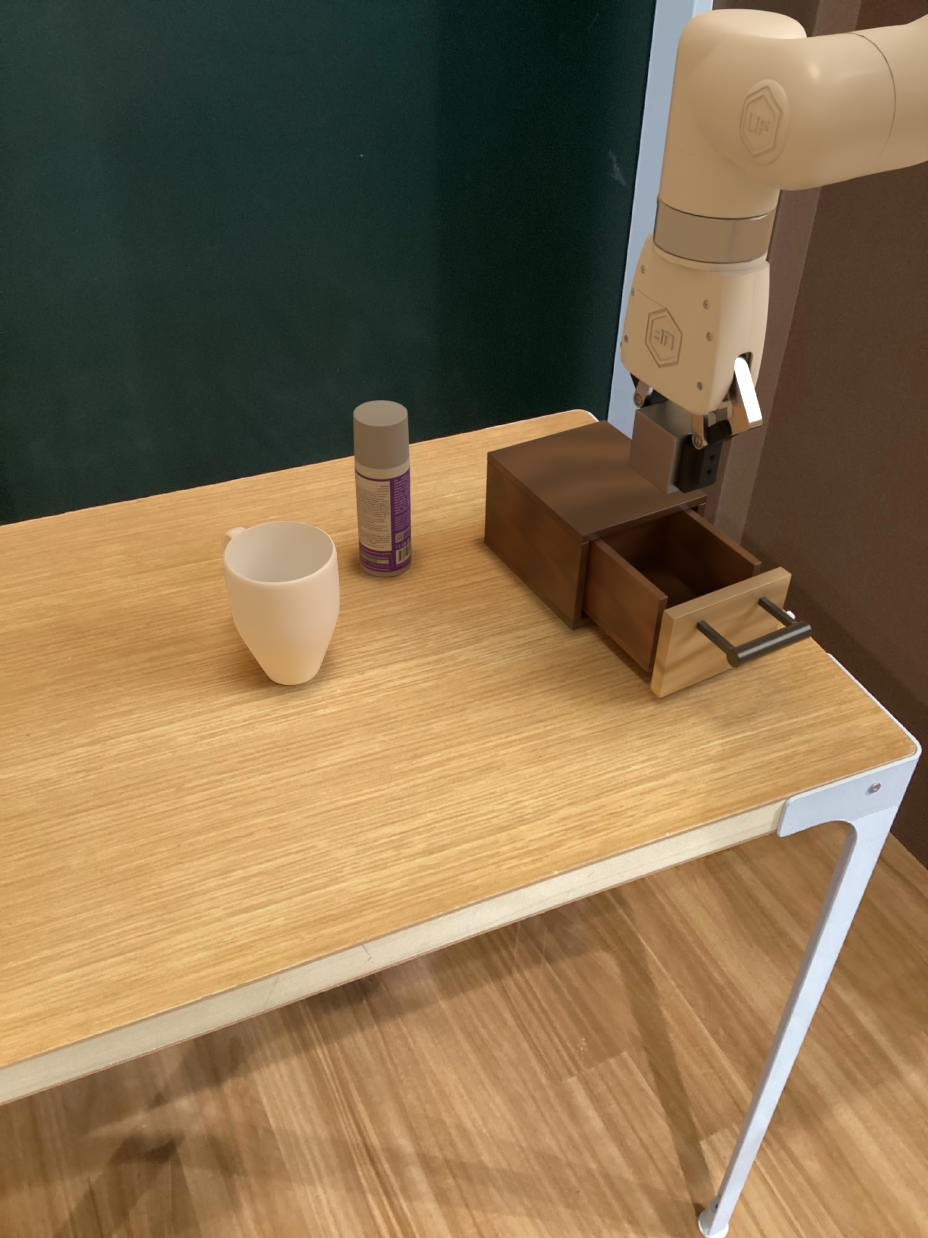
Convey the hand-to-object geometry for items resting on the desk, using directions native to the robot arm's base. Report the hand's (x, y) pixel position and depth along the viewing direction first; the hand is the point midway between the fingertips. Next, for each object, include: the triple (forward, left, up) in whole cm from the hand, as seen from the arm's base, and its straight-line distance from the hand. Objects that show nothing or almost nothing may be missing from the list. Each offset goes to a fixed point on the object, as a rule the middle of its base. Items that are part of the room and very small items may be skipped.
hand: (672, 467), depth 81 cm
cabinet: (+7, -6, -15) cm, 18 cm away
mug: (+27, +15, -15) cm, 34 cm away
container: (+24, 0, -15) cm, 29 cm away
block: (0, 0, 0) cm, 0 cm away
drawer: (-3, +3, -14) cm, 15 cm away
